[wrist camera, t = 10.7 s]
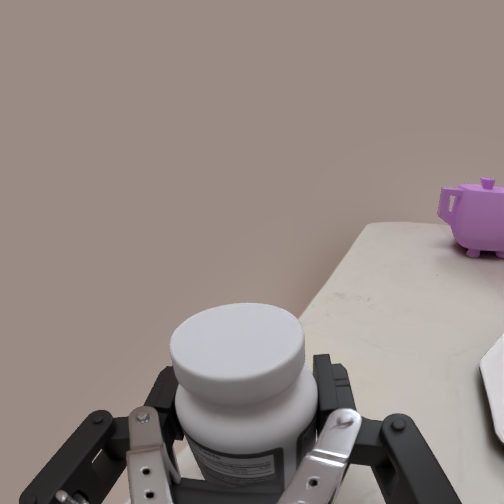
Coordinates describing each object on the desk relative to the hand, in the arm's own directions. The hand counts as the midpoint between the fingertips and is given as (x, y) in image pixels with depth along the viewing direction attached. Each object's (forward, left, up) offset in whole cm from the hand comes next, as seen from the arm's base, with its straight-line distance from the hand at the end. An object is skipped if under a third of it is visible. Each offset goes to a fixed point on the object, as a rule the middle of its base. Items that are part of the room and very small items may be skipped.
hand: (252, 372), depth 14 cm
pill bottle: (-1, -2, -6) cm, 7 cm away
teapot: (+43, +25, -8) cm, 51 cm away
